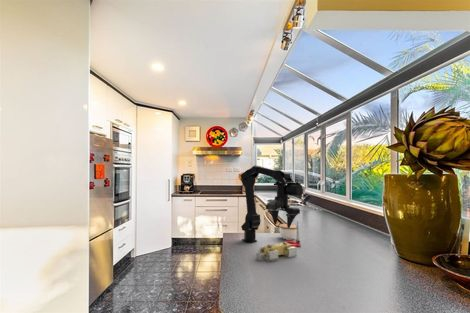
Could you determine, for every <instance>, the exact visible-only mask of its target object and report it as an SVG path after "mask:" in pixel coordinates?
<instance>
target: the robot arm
mask: <svg viewBox="0 0 470 313" xmlns="http://www.w3.org/2000/svg"><path fill="white" fill-rule="evenodd" d="M260 174H261V175H263V176H268V177H270V178H272V179H273V180H275V182H274V183H273V186H276V196H274V200H271V201H269V202H267V203H266V205H265V209H266V210H267V212H268V213H270V215H271V218H272V221H273V224H274V225H277V222H278V218H279V213H280V211H283V212H285V216H286V218H287V219H286V224H287V227H288V228H290V226H291V225H293V224H292V223H293V222H294V220H295V218H296V217H297V216H298V215H299V214H301V213H300V212H301V210H300V208H299V207H296V206H290V205H289V200H290V199H291V197H299V198H300V197H302V196H303V194H304V189H303V186H302V184H301V182H299V181H297V182H295V181H294V179H293V177H292V176H291V172H290V171H288V170H281V169H272V168H268V167H265V166H261V165H253V166H252V167H249V169H247V170H245V171H243V172H242V173H241V175H240V179H241V184H242V185H243V187H244V192H245V202H246V210H247V211H246V214H245V218H244V222H243V224H242V225H241V231H244V233H243V236H244V237H243V238H242V239H241V241H244V242H245V243H247V244H248V243H249V244H251V243H257V242H258V240H257V239H256V237H257V236H256V231H258V230H259V227H260V226H261V222H262V221H261V214H258V213H257V210H256V208H257V207H256V200H255V190H254V186H255V184H256V179H257V178H258V177H259V175H260ZM279 210H280V211H279ZM256 241H257V242H256Z"/></svg>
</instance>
